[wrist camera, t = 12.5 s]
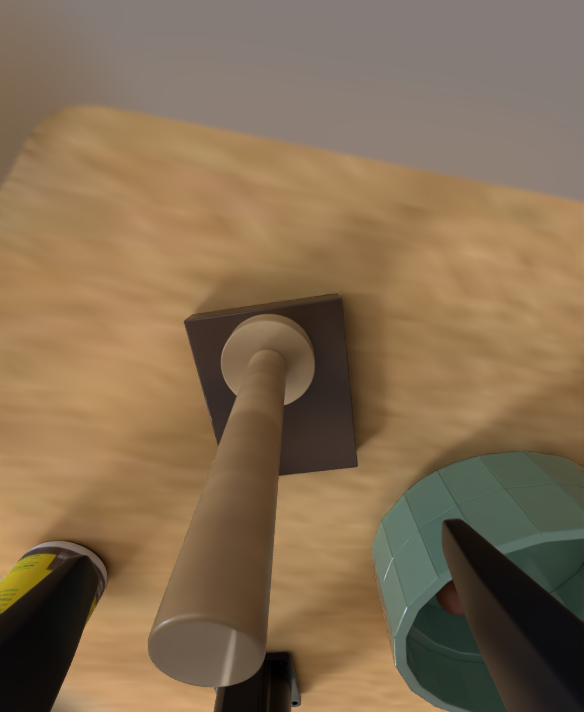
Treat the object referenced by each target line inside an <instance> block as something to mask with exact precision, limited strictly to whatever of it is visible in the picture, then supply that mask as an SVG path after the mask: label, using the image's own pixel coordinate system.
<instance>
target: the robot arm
mask: <svg viewBox="0 0 584 712" xmlns="http://www.w3.org/2000/svg"><path fill="white" fill-rule="evenodd" d="M442 550H443V554H444V557H445V559H446V562H447V565H448V568H449V571H450V574H451V576H452V579H453V582H454V585H455V588H456V591H457V593H458V596H459V599H460V602H461V605H462V608H463V610H464V613H465V616H466V619H467V622H468V624H469V627H470V630H471V632H472V634H473V636H474V639H475V641H476V643H477V646H478V648H479V650H480V652H481V654H482V657H483V659H484V661H485V663H486V665H487V667H488V670H489V672H490V674H491V676H492V678H493V681H494V683H495V685H496V687H497V689H498V692H499V694H500V696H501V698H502V700H503V703H504V705H505V707H506V709H507V711H508V712H584V622H583V621H582V620H581V619H579V618H578V617H577V616H576V615H575V614H574V613H572V612H571V611H570V610H569V609H568V608H566V607H565V606H564V605H563V604H562V603H560V602H559V601H558V600H557V599H556V598H555V597H553V596H552V595H551V594H550V593H549V592H547V591H546V590H545V589H544V588H543V587H542V586H540V585H539V584H538V583H537V582H536V581H534V580H533V579H532V578H531V577H530V576H528V575H527V574H526V573H525V572H524V571H523V570H521V569H520V568H519V567H518V566H517V565H515V564H514V563H513V562H512V561H511V560H510V559H508V558H507V557H506V556H505V555H504V554H502V553H501V552H500V551H499V550H498V549H496V548H495V547H494V546H493V545H492V544H491V543H489V542H488V541H487V540H486V539H485V538H483V537H482V536H481V535H480V534H479V533H478V532H476V531H475V530H474V529H473V528H472V527H470V526H469V525H468V524H467V523H466V522H465V521H463V520H462V519H459V518H455V519H445V520H443V522H442ZM99 580H100V578H99V574H98V572H97V570H96V568H95V566H94V564H93V563H92V561H91V559H90V557H89V556H87V555H77V556H72V557H69V558H68V559H66V560H65V561H64V562H63V563H62V564H60V565H59V566H58V567H57V568H55V569H54V570H53V571H52V572H51V573H49V574H48V575H47V576H46V577H45V578H43V579H42V580H41V581H40V582H39V583H37V584H36V585H35V586H34V587H33V588H31V589H30V590H29V591H28V592H27V593H25V594H24V595H23V596H22V597H21V598H19V599H18V600H17V601H16V602H14V603H13V604H12V605H11V606H10V607H8V608H7V609H6V610H5V611H4V612H2V613H1V614H0V712H50V711H51V709H52V707H53V704H54V702H55V700H56V698H57V695H58V693H59V691H60V688H61V686H62V684H63V681H64V679H65V677H66V675H67V672H68V670H69V667H70V665H71V663H72V660H73V658H74V655H75V652H76V650H77V647H78V644H79V641H80V638H81V636H82V633H83V630H84V627H85V624H86V621H87V618H88V615H89V613H90V610H91V607H92V604H93V601H94V598H95V595H96V592H97V590H98V586H99ZM214 689H215V691H216V694H217V695H216V701H215V707H214V712H291V707H297V706H300V705H301V694H300V690H299V686H298V682H297V678H296V674H295V670H294V666H293V662H292V658H291V655H290V654H289V653H284V652H283V653H269V654H266V655H265V658H264V661H263V663H262V665H261V667H260V669H259V670H258V671H257V673H256V674H254V675H253V676H252V677H250V678H249V679H247V680H245V681H243V682H241V683H238V684H234V685H230V686H224V687H214Z"/></svg>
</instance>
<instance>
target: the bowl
mask: <svg viewBox="0 0 584 712" xmlns="http://www.w3.org/2000/svg"><path fill="white" fill-rule="evenodd" d="M455 518H459V519H462V520H463V521H465V522H466V523H467V524H468V525H469V526H470V527H472V528H473V529H474V530H475V531H476V532H478V533H479V534H480V535H481V536H482V537H483V538H485V539H486V540H487V541H488V542H489V543H491V544H492V545H493V546H494V547H495V548H496V549H498V550H499V551H500V552H501V553H502V554H504V555H505V556H506V557H507V558H508V559H510V560H511V561H512V562H513V563H514V564H515V565H517V566H518V567H519V568H520V569H521V570H523V571H524V572H525V573H526V574H527V575H528V576H530V577H531V578H532V579H533V580H534V581H536V582H537V583H538V584H539V585H540V586H542V587H543V588H544V589H545V590H546V591H547V592H549V593H550V594H551V595H552V596H553V597H555V598H556V599H557V600H558V601H559V602H560V603H562V604H563V605H564V606H565V607H566V608H568V609H569V610H570V611H571V612H572V613H574V614H575V615H576V616H577V617H578V618H579V619H581V620H582V621H583V622H584V467H583V466H581V465H579V464H577V463H575V462H573V461H571V460H569V459H567V458H565V457H561V456H555V455H548V454H542V453H535V452H529V451H516V452H507V453H496V454H487V455H480V456H475V457H471V458H468V459H464V460H460V461H458V462H455V463H452V464H450V465H447V466H445V467H443V468H441V469H439V470H437V471H435V472H433V473H431V474H429V475H428V476H426V477H425V478H423V479H421V480H420V481H419V482H417V483H416V484H415V485H414V486H412V487H411V488H410V489H409V490H408V491H407V492H405V494H403V495H402V496H401V498H400V499H399V500H398V501H397V502H396V504H395V505H394V506H393V507H392V508H391V510H390V511H389V512H388V513H387V514H386V516H385V517H384V518H383V519H382V520H381V523H380V526H379V529H378V532H377V535H376V537H375V540H374V543H373V546H372V556H373V568H374V576H375V580H376V584H377V589H378V593H379V598H380V602H381V606H382V611H383V615H384V620H385V624H386V629H387V633H388V637H389V642H390V646H391V651H392V655H393V660H394V664H395V666H396V668H397V669H398V671H399V673H400V674H401V676H402V677H403V679H404V680H405V682H406V683H407V685H408V687H409V688H410V689H411V691H413V692H414V693H416V694H417V695H419V696H420V697H422V698H423V699H425V700H426V701H428V702H429V703H431V704H432V705H433V706H435V707H437V708H440V709H443V710H446V711H450V712H508V711H507V709H506V707H505V705H504V703H503V700H502V698H501V696H500V694H499V692H498V689H497V687H496V685H495V683H494V681H493V678H492V676H491V674H490V672H489V670H488V667H487V665H486V663H485V661H484V659H483V657H482V654H481V652H480V650H479V648H478V646H477V643H476V641H475V639H474V636H473V634H472V632H471V630H470V627H469V624H468V622H467V619H466V616H465V614H464V615H462V616H454V615H451V614H449V613H448V612H446V611H445V610H444V609H443V608H442V607H441V606H440V605H439V603H438V601H437V599H436V596H435V594H436V593H437V592H438V591H439V590H440V589H441V588H442V587H443V586H444V585H445V584H447V583H448V582H449V581H451V580H452V576H451V574H450V571H449V568H448V565H447V562H446V559H445V557H444V554H443V550H442V522H443V520H445V519H455Z"/></svg>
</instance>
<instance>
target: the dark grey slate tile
mask: <svg viewBox="0 0 584 712" xmlns="http://www.w3.org/2000/svg"><path fill="white" fill-rule="evenodd" d="M262 314H276V315H281V316H284V317H287V318H289V319H291V320H293V321H294V322H296V323H297V324H298V325H300V326H301V327H302V328H303V329H304V331H305V332H306V333H307V335H308V336H309V338H310V340H311V343H312V346H313V350H314V357H315V373H314V377H313V380H312V382H311V384H310V386H309V387H308V389H307V390H306V391H305V393H304V394H303V395H302V396H300V397H299V398H298V399H296V400H295V401H293V402H291V403H289V404H287V405H284V412H283V426H282V439H281V453H280V466H279V476H281V475H290V474H299V473H308V472H317V471H326V470H335V469H344V468H353V467H357V466H358V463H357V453H356V442H355V432H354V421H353V411H352V400H351V390H350V379H349V369H348V358H347V348H346V337H345V327H344V316H343V306H342V298H341V297H340V295H339V294H338V293H336V294H329V295H322V296H315V297H308V298H302V299H295V300H288V301H281V302H274V303H267V304H261V305H254V306H247V307H240V308H233V309H227V310H220V311H213V312H206V313H199V314H192V315H191V316H190V317H188V318H187V319H186V320H185V321H184V324H185V328H186V331H187V335H188V338H189V342H190V346H191V349H192V353H193V357H194V360H195V364H196V367H197V371H198V375H199V378H200V382H201V386H202V389H203V393H204V396H205V400H206V404H207V407H208V411H209V415H210V418H211V422H212V425H213V429H214V433H215V436H216V440H217V444H218V446H219V443H220V441H221V438H222V435H223V432H224V430H225V427H226V424H227V422H228V419H229V416H230V413H231V411H232V408H233V405H234V402H235V400H236V397H237V395H236V394H235V393H234V392H233V391H232V390H231V389H230V388H229V386H228V385H227V383H226V381H225V379H224V377H223V373H222V369H221V356H222V351H223V348H224V346H225V344H226V342H227V340H228V339H229V337H230V336H231V334H232V333H233V331H234V330H235V329H236V328H237V326H239V325H240V324H241V323H242V322H244V321H245V320H247V319H249V318H251V317H254V316H257V315H262Z"/></svg>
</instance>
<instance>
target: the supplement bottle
mask: <svg viewBox="0 0 584 712" xmlns="http://www.w3.org/2000/svg"><path fill="white" fill-rule="evenodd" d="M77 555H87V556H89V557H90V559H91V561H92V563H93V564H94V566H95V568H96V570H97V572H98V574H99V578H100V580H99V586H98V590H97V592H96V595H95V598H94V601H93V604H92V607H91V610H90V613H89V615H88V618H87V621H86V624H87V622H88V620H89V618H90V617H91V615H92V613H93V611H94V609H95V607H96V605H97V603H98V602H99V600H100V598H101V596H102V594H103V592H104V590H105V588H106V585H107V571H106V568H105V566H104V564H103V563H102V561H101V560H100V559H99V558H98V557H97V556H96V555H95V554H94V553H93V552H91V551H90V550H88V549H87V548H85V547H83V546H80V545H77V544H75V543H71V542H66V541H51V542H45V543H42V544H39V545H37V546H35V547H33V548H32V549H30V550H29V551H28V552H27V553H26V554H25V555H24V556H23V557H22V558H21V559H20V560H19V561H18V562H17V564H16V565H15V566H14V567H13V568H12V569H11V571H10V572H9V573H8V574H7V575H6V577H5V578H4V579H3V580H2V581H1V582H0V614H1V613H2V612H4V611H5V610H6V609H7V608H8V607H10V606H11V605H12V604H13V603H14V602H16V601H17V600H18V599H19V598H21V597H22V596H23V595H24V594H25V593H27V592H28V591H29V590H30V589H31V588H33V587H34V586H35V585H36V584H37V583H39V582H40V581H41V580H42V579H43V578H45V577H46V576H47V575H48V574H49V573H51V572H52V571H53V570H54V569H55V568H57V567H58V566H59V565H60V564H62V563H63V562H64V561H65V560H66V559H68V558H69V557H72V556H77ZM86 624H85V626H86ZM84 628H85V627H84Z"/></svg>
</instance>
